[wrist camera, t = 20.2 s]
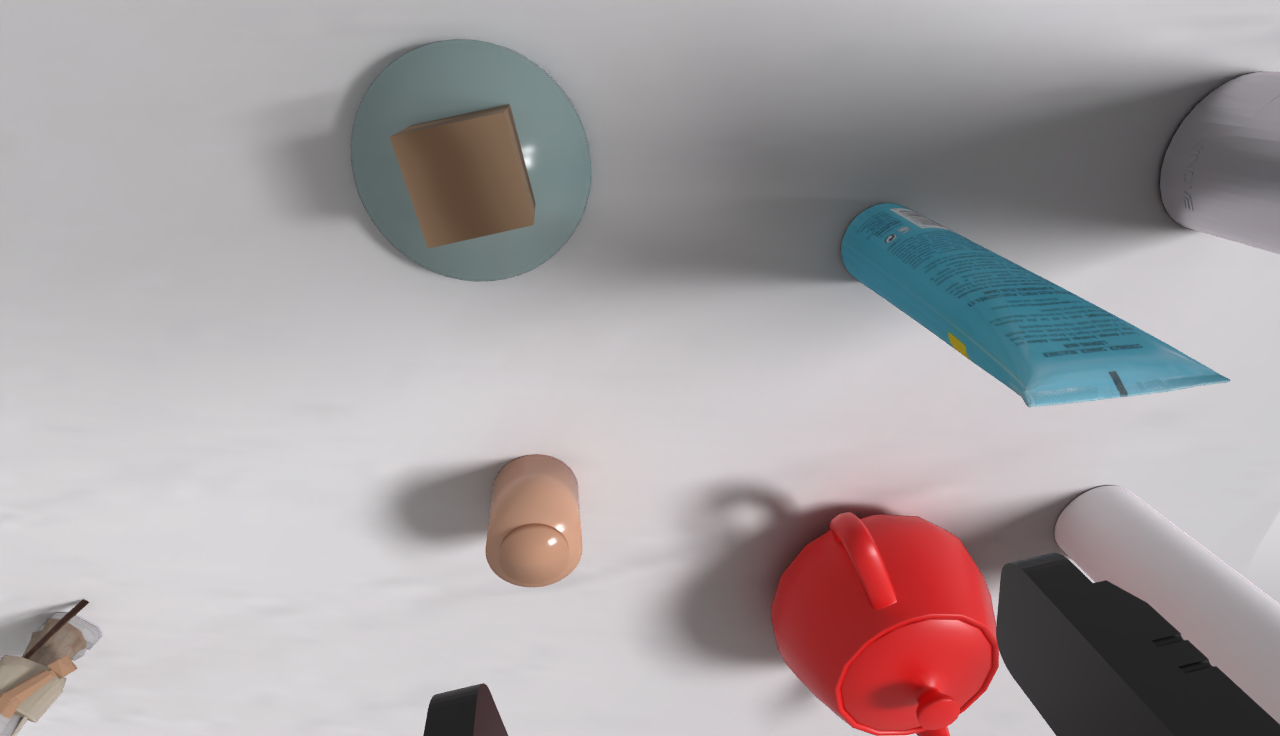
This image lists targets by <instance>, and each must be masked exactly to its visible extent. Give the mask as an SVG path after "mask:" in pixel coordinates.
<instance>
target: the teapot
mask: <svg viewBox="0 0 1280 736" xmlns="http://www.w3.org/2000/svg"><path fill="white" fill-rule="evenodd" d="M771 616H772V623H773V628H774V633H775V638H776V643H777V647H778V650H779V652H780V654H781V656H782V657H783V659H784V661H785V663H786V664H787V665H788V667H789V668H790V669H791V670H792V671H793V672H794V674H795V675H796V676H797V677H798V678H799V679H800V680H801V681H802V682H803V683H804V684H805V686H806V687H807V688H808V689H809V690H810V691H811V692H812V693H813V694H814V695H815V696H816V697H817V698H818V699H819V700H820V701H822V702H823V703H824V704H825V705H826V706H828V707H829V708H830V709H831V710H832V711H833V712H834V713H835V714H836V715H838V716H839V717H840V718H841V719H843V720H844V721H845V722H846V723H848V724H849V725H850V726H851V727H853V728H855V729H858V730H861V731H864V732H867V733H870V734H873V735H876V736H881V735H909V734H914V733H916V734H917V735H918V736H950V734H949V731H948V728H947V726H948V725H950V724H952V723H953V722H954V721H955V720H956V719H957V718H958V716H959V714H961V713H962V712H964V711H965V710H966V709H967V708H968V707H969V706H970V705H971V704H972V703H973V702H974V701H975V700H977V699H978V698H979V697H980V696H981V695H982V694H983V693H984V692H985V691H986V690H987V688H988V686H989V684H990V682H991V680H992V678H993V677H994V675H995V673H996V671H997V669H998V667H999V647H998V644H997V638H996V621H995V616H994V612H993V606H992V600H991V595H990V592H989V589H988V587H987V584H986V581H985V578H984V577H983V575H982V574H981V572H980V570H979V569H978V567H977V566H976V564H975V562H974V561H973V559H972V558H971V556H970V555H969V553H968V552H967V550H966V548H965V547H964V545H963V544H962V542H961V541H960V539H959V538H958V537H956V536H954V535H953V534H951V533H950V532H948V531H947V530H945V529H942V528H940V527H938V526H936V525H934V524H932V523H930V522H928V521H926V520H924V519H922V518H920V517H917V516H898V515H872V516H868V517H865V518H861V519H859V518H858V517H857V516H856V515H854V514H852V513H851V512H847V513H841V514H838V515H837V516H836V517H835V518H833V519H832V520H831V523H830V530H829V531H828V532H826V533H825V534H823V535H821V536H820V537H818V538H817V539H815V540H813V541H812V542H810V543H809V544H807V545H806V546H805V547H804V548H803V549H802V551H801V552H800V553H799V554H798V555H797V557H796V558H795V559H794V560H793V561H792V563H791V564H790V565H789V566H788V567H787V569H786V570H785V571H784V573H783V574H782V576H781V577H780V580H779V583H778V587H777V590H776V593H775V596H774V599H773V603H772V606H771Z"/></svg>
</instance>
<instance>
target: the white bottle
mask: <svg viewBox="0 0 1280 736" xmlns="http://www.w3.org/2000/svg"><path fill="white" fill-rule="evenodd" d="M1055 539H1056V542H1057V544H1058V546H1059V547H1060V548H1061V549H1062V550H1063V551H1064V552H1065V553H1066V554H1067V555H1068V556H1069V557H1070V558H1071V559H1072V560H1073V561H1074V562H1075V563H1076V564H1077V565H1078V566H1079V567H1080V568H1081V569H1082V570H1083V571H1084V572H1085V573H1087V574H1088V575H1089V576H1090V577H1091V578H1092V579H1093V580H1094V581H1095V582H1101V581H1105V580H1107V581H1109V582H1110V583H1112V584H1114V585H1116V586H1118V587H1119V588H1121V589H1123V590H1125V591H1127V592H1129V593H1130V594H1132V595H1134V596H1136V597H1138V598H1139V599H1141V600H1143V601H1145V602H1147V603H1148V604H1149V605H1150V606H1151V607H1153V608H1154V609H1155V610H1156V611H1157V612H1158V613H1159V614H1160V615H1161V616H1162V617H1163V618H1165V619H1166V620H1167V621H1168V622H1169V623H1170V624H1171V625H1172V626H1173V627H1174V628H1175V629H1176V630H1178V631H1179V632H1180V633H1181V637H1182V638H1183V639H1184V640H1188V641H1190V642H1191V643H1192V644H1193V645H1194V646H1195V647H1196V648H1197V649H1198V650H1199V651H1200V652H1202V653H1203V654H1204V655H1205V656H1206V657H1207V658H1208V659H1209V662H1210V664H1211V665H1212V666H1213V667H1214V666H1217V667H1218V668H1219V669H1220V670H1221V671H1222V672H1223V673H1224V674H1225V675H1227V676H1228V677H1229V678H1230V679H1231V680H1232V681H1233V682H1234V683H1235V684H1236V685H1237V686H1238V687H1240V688H1241V689H1242V690H1243V691H1244V692H1245V693H1246V694H1247V695H1248V696H1249V697H1250V698H1252V699H1253V700H1254V701H1255V702H1256V703H1257V704H1258V705H1259V706H1260V707H1261V708H1262V709H1264V710H1265V711H1266V712H1267V713H1268V714H1269V715H1270V716H1271V717H1272V718H1273V719H1274V720H1275V721H1277V722H1278V723H1279V724H1280V604H1279V603H1278V602H1276V601H1275V600H1274V599H1272V598H1271V597H1270V596H1268V595H1267V594H1266V593H1264V592H1263V591H1262V590H1260V589H1259V588H1258V587H1256V586H1255V585H1254V584H1252V583H1251V582H1250V581H1248V580H1247V579H1246V578H1244V577H1243V576H1242V575H1241V574H1239V573H1238V572H1237V571H1235V570H1234V569H1233V568H1231V567H1230V566H1229V565H1227V564H1226V563H1225V562H1223V561H1222V560H1221V559H1219V558H1218V557H1217V556H1215V555H1214V554H1213V553H1211V552H1210V551H1209V550H1207V549H1206V548H1205V547H1203V546H1202V545H1201V544H1199V543H1198V542H1197V541H1196V540H1194V539H1193V538H1192V537H1190V536H1189V535H1188V534H1186V533H1185V532H1184V531H1182V530H1181V529H1180V528H1178V527H1177V526H1176V525H1174V524H1173V523H1172V522H1170V521H1169V520H1168V519H1166V518H1165V517H1164V516H1162V515H1161V514H1160V513H1158V512H1157V511H1156V510H1154V509H1153V508H1152V507H1151V506H1149V505H1148V504H1147V503H1145V502H1144V501H1143V500H1141V499H1140V498H1139V497H1137V496H1136V495H1135V494H1133V493H1132V492H1131V491H1129V490H1127V489H1125V488H1123V487H1120V486H1112V485H1110V486H1101V487H1097V488H1094V489H1091V490H1089V491H1087V492H1085V493H1083V494H1081V495H1080V496H1078V497H1077V498H1075V499H1074V500H1073V501H1072V502H1071V503H1069V504H1068V506H1067V507H1066V508H1065V509H1064V510H1063V511H1062V513H1061V514H1060V516H1059V518H1058V520H1057V522H1056V526H1055Z"/></svg>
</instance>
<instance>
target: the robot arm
mask: <svg viewBox="0 0 1280 736" xmlns="http://www.w3.org/2000/svg"><path fill="white" fill-rule="evenodd" d="M1160 190H1161V197H1162V201H1163V204H1164V206H1165V208H1166V210H1167V212H1168V214H1169V215H1170V216H1171V217H1172V218H1173V219H1174V221H1176V222H1177V223H1179V224H1181V225H1182V226H1184V227H1186V228H1189V229H1193V230H1196V231H1200V232H1204V233H1207V234H1211V235H1214V236H1218V237H1221V238H1225V239H1228V240H1232V241H1235V242H1239V243H1242V244H1245V245H1248V246H1252V247H1255V248H1259V249H1263V250H1266V251H1270V252H1273V253H1277V254H1280V72H1256V73H1250V74H1245V75H1242V76H1240V77H1237V78H1235V79H1233V80H1230V81H1228V82H1226V83H1225V84H1223V85H1222V86H1220V87H1218V88H1217V89H1215V90H1214V91H1212V92H1211V93H1210V94H1209V95H1207V96H1206V97H1205V98H1204V99H1203V100H1202V101H1201V102H1199V103H1198V104H1197V105H1196V106H1195V107H1194V109H1193V110H1192V111H1191V112H1190V113H1189V114H1188V116H1187V117H1186V118H1185V119H1184V120H1183V122H1182V123H1181V125H1180V127H1179V128H1178V130H1177V131H1176V133H1175V134H1174V136H1173V138H1172V140H1171V142H1170V145H1169V147H1168V149H1167V151H1166V154H1165V157H1164V161H1163V165H1162V169H1161V178H1160ZM996 638H997V644H998V647H999V651H1000V653H1001V656H1002V658H1003V661H1004V663H1005V665H1006V667H1007V669H1008V670H1009V672H1010V673H1011V675H1012V676H1013V678H1014V679H1015V680H1016V682H1017V683H1018V685H1019V686H1020V687H1021V689H1022V690H1023V691H1024V693H1025V694H1026V695H1027V697H1028V698H1029V699H1030V701H1031V702H1032V703H1033V705H1034V706H1035V707H1036V709H1037V710H1038V711H1039V713H1040V714H1041V715H1042V717H1043V718H1044V719H1045V721H1046V722H1047V723H1048V725H1049V726H1050V728H1051V729H1052V730H1053V732H1054V733H1055V734H1056V736H1280V724H1279V723H1278V722H1277V721H1275V720H1274V719H1273V718H1272V717H1271V716H1270V715H1269V714H1268V713H1267V712H1266V711H1265V710H1264V709H1262V708H1261V707H1260V706H1259V705H1258V704H1257V703H1256V702H1255V701H1254V700H1253V699H1252V698H1250V697H1249V696H1248V695H1247V694H1246V693H1245V692H1244V691H1243V690H1242V689H1241V688H1240V687H1238V686H1237V685H1236V684H1235V683H1234V682H1233V681H1232V680H1231V679H1230V678H1229V677H1228V676H1227V675H1225V674H1224V673H1223V672H1222V671H1221V670H1220V669H1219V668H1218V667H1217V666H1214V667H1213V666H1212V665H1211V664H1210V662H1209V659H1208V658H1207V657H1206V656H1205V655H1204V654H1203V653H1202V652H1200V651H1199V650H1198V649H1197V648H1196V647H1195V646H1194V645H1193V644H1192V643H1191V642H1190V641H1188V640H1184V639H1183V638H1182V637H1181V633H1180V632H1179V631H1178V630H1176V629H1175V628H1174V627H1173V626H1172V625H1171V624H1170V623H1169V622H1168V621H1167V620H1166V619H1165V618H1163V617H1162V616H1161V615H1160V614H1159V613H1158V612H1157V611H1156V610H1155V609H1154V608H1153V607H1151V606H1150V605H1149V604H1148V603H1147V602H1145V601H1143V600H1141V599H1139V598H1138V597H1136V596H1134V595H1132V594H1130V593H1129V592H1127V591H1125V590H1123V589H1121V588H1119V587H1118V586H1116V585H1114V584H1112V583H1110V582H1109V581H1107V580H1105V581H1101V582H1096V583H1092V582H1091V581H1090V580H1089V579H1088V578H1087V577H1086V576H1085V575H1084V574H1083V573H1082V572H1081V571H1080V570H1079V569H1078V568H1077V567H1076V566H1075V565H1073V564H1072V563H1071V562H1070V561H1069V560H1068V559H1067V558H1065V557H1064V556H1062V555H1060V554H1057V553H1051V554H1047V555H1042V556H1038V557H1034V558H1030V559H1025V560H1021V561H1017V562H1012V563H1008V564H1006V565H1005V566H1004V567H1003V569H1002V572H1001V581H1000V592H999V604H998V615H997V626H996ZM424 736H508V734H507V732H506V729H505V727H504V724H503V722H502V720H501V717H500V715H499V712H498V710H497V707H496V705H495V703H494V700H493V698H492V695H491V693H490V691H489V689H488V687H487V685H486V684H478V685H474V686H470V687H466V688H461V689H457V690H453V691H448V692H444V693H440V694H436V695H434V696H433V697H432V699H431V701H430V704H429V708H428V713H427V719H426V724H425V730H424Z"/></svg>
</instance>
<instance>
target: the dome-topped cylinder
mask: <svg viewBox="0 0 1280 736" xmlns="http://www.w3.org/2000/svg"><path fill="white" fill-rule="evenodd" d="M581 555H582V535H581V521H580V508H579V494H578V483H577V479H576V477H575V475H574V473H573V471H572V470H571V469H570V468H569V467H568V466H567V465H566V464H565V463H564V462H562V461H560V460H559V459H556V458H554V457H551V456H547V455H539V454H534V455H526V456H522V457H519V458H517V459H514V460H512V461H511V462H509V463H508V464H506V465H505V466H504V467H503V468H502V469H501V470H500V471H499V473H498V474H497V476H496V478H495V481H494V485H493V492H492V500H491V509H490V517H489V525H488V534H487V542H486V558H487V562H488V564H489V566H490V567H491V569H492V570H493V571H494V572H495V574H496V575H498V576H499V577H500V578H502V579H503V580H505V581H507V582H509V583H511V584H514V585H518V586H522V587H541V586H547V585H550V584H553V583H556V582H558V581H560V580H562V579H563V578H565V577H566V576H568V575H569V574H570V573H571V572H572V571H573V570H574V569H575V568H576V566H577V565H578V563H579V561H580V558H581Z"/></svg>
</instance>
